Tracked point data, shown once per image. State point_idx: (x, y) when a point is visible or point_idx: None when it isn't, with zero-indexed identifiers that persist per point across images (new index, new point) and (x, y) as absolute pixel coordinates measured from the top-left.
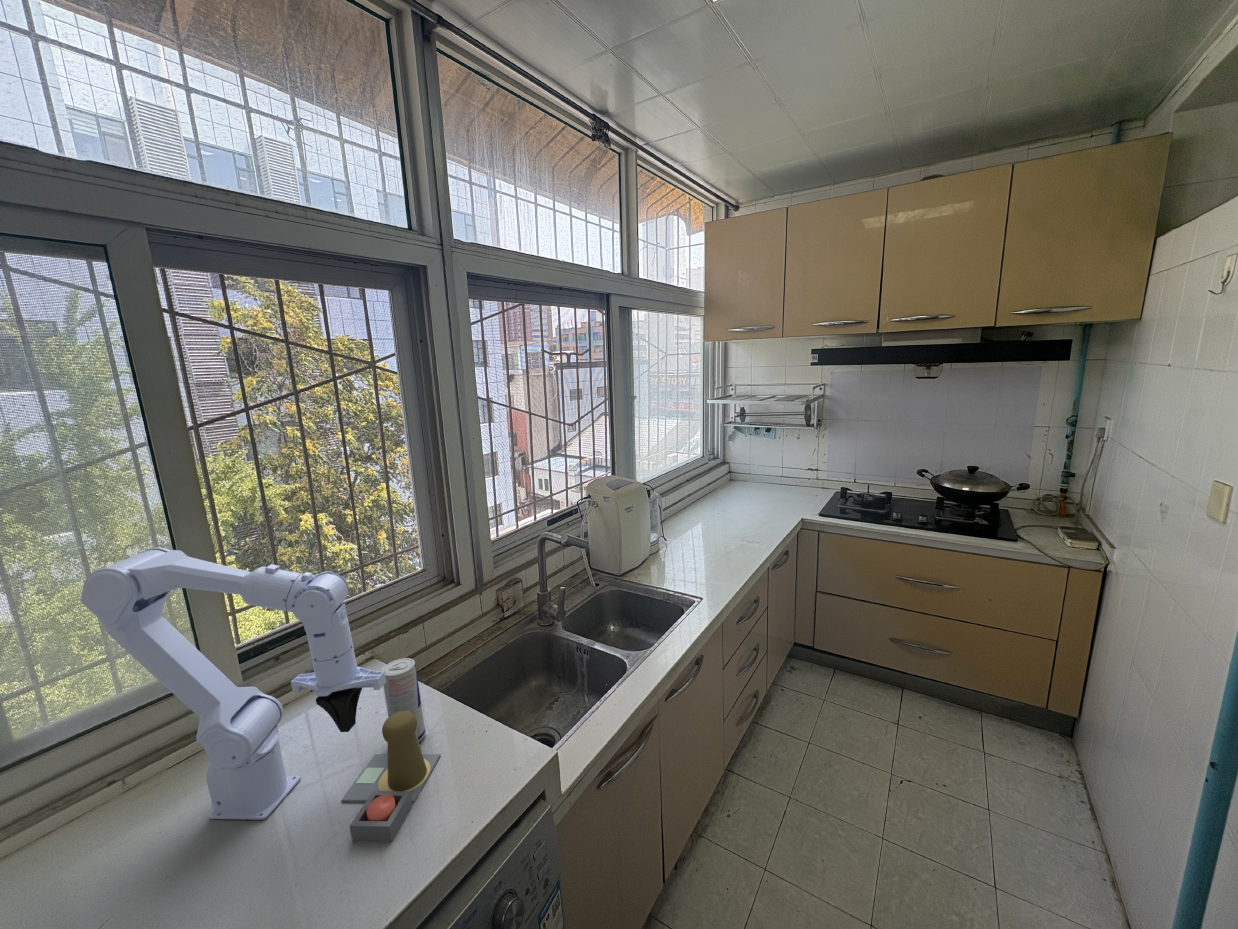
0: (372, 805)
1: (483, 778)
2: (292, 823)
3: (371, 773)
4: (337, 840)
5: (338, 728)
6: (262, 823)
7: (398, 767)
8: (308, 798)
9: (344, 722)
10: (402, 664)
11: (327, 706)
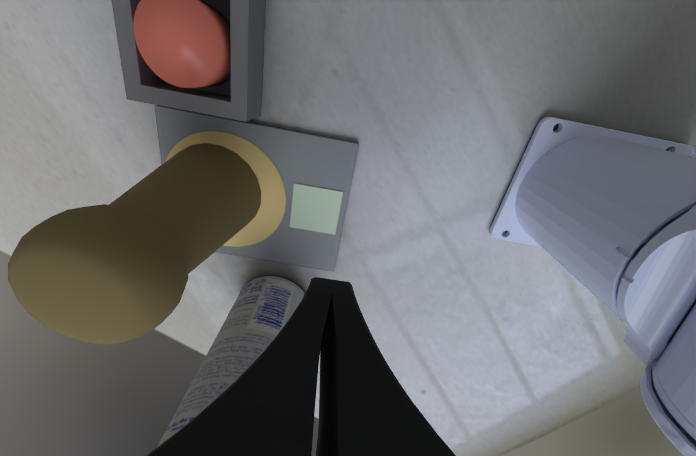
0: (205, 46)
1: (19, 156)
2: (464, 93)
3: (315, 215)
4: (312, 4)
5: (352, 293)
6: (544, 108)
7: (171, 169)
8: (450, 171)
9: (303, 310)
10: None
11: (380, 446)
